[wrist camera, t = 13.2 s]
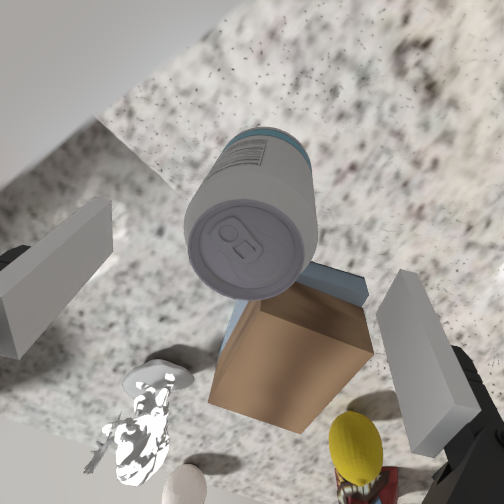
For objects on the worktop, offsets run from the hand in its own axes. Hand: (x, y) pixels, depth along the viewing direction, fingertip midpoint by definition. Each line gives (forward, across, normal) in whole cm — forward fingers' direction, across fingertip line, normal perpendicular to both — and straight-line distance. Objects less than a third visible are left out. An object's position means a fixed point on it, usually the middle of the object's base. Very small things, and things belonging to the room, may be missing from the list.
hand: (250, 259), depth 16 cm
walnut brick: (+10, +5, -14) cm, 18 cm away
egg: (+12, -1, -47) cm, 49 cm away
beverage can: (+13, 0, 0) cm, 13 cm away
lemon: (+13, +16, -26) cm, 33 cm away
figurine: (+12, -7, -26) cm, 30 cm away
